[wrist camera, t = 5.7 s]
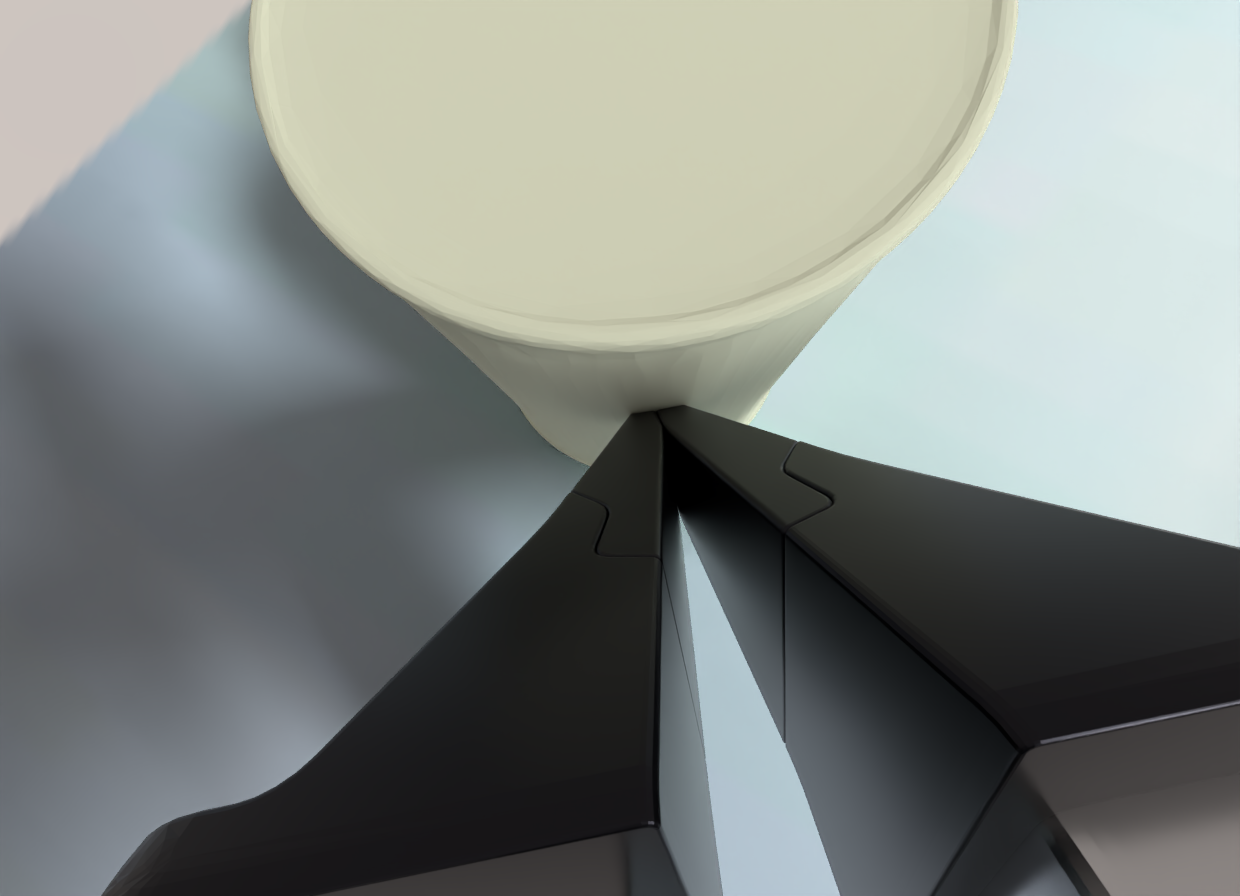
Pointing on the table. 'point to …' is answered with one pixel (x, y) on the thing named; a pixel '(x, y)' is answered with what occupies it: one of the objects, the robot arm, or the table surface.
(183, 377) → the table surface
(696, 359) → the can
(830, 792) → the robot arm
